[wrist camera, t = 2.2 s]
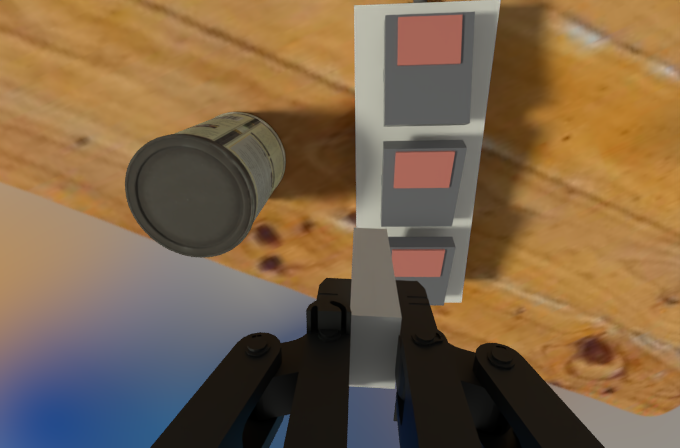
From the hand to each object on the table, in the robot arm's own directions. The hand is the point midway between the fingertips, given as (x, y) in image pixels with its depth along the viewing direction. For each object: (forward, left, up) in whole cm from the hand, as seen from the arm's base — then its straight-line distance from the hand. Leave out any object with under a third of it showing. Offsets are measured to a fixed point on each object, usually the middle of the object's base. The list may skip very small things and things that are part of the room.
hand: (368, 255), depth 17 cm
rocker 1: (-7, +5, -19) cm, 21 cm away
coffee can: (+1, -14, -26) cm, 29 cm away
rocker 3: (+12, +5, -19) cm, 23 cm away
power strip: (0, +5, -25) cm, 26 cm away
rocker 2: (+2, +5, -19) cm, 20 cm away
